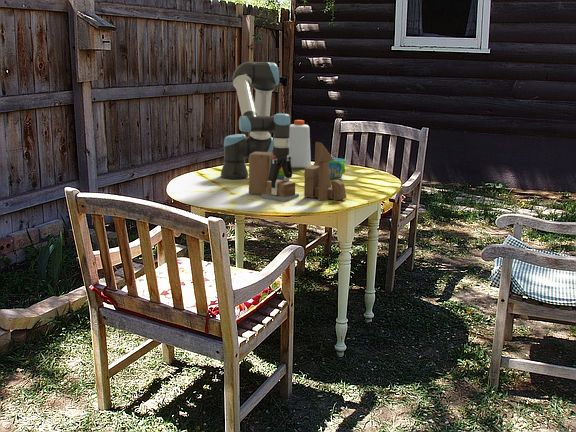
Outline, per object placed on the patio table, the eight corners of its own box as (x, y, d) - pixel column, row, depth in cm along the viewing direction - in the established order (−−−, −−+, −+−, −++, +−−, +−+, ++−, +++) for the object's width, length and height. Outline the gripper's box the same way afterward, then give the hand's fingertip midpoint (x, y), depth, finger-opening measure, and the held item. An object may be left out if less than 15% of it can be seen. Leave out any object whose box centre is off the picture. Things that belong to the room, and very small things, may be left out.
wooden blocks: (339, 204, 311) (341, 144, 305) (299, 199, 319) (301, 141, 312) (355, 194, 333) (358, 138, 326) (317, 190, 341) (319, 135, 334)
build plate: (261, 197, 321) (261, 194, 321) (276, 193, 332) (276, 190, 331) (284, 201, 314) (284, 198, 314) (298, 196, 325) (298, 193, 325)
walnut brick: (265, 193, 323) (265, 181, 322) (276, 191, 329) (276, 179, 328) (284, 197, 316) (284, 184, 315) (295, 194, 322) (295, 182, 321)
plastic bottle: (311, 168, 404) (312, 122, 398) (286, 167, 404) (287, 121, 397) (309, 164, 419) (311, 119, 412) (285, 163, 419) (286, 118, 412)
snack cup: (350, 179, 373) (350, 161, 371) (333, 180, 369) (333, 162, 367) (337, 174, 387) (338, 156, 385) (320, 175, 383) (321, 157, 381)
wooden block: (267, 195, 326) (268, 155, 321) (248, 194, 328) (248, 153, 323) (272, 191, 335) (273, 152, 330) (253, 190, 337) (254, 151, 332)
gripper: (274, 150, 306) (273, 197, 311) (300, 145, 324) (299, 190, 330) (261, 148, 310) (260, 195, 315) (287, 143, 328) (286, 188, 334)
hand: (280, 192), depth 322 cm, fingers open, 10 cm apart
